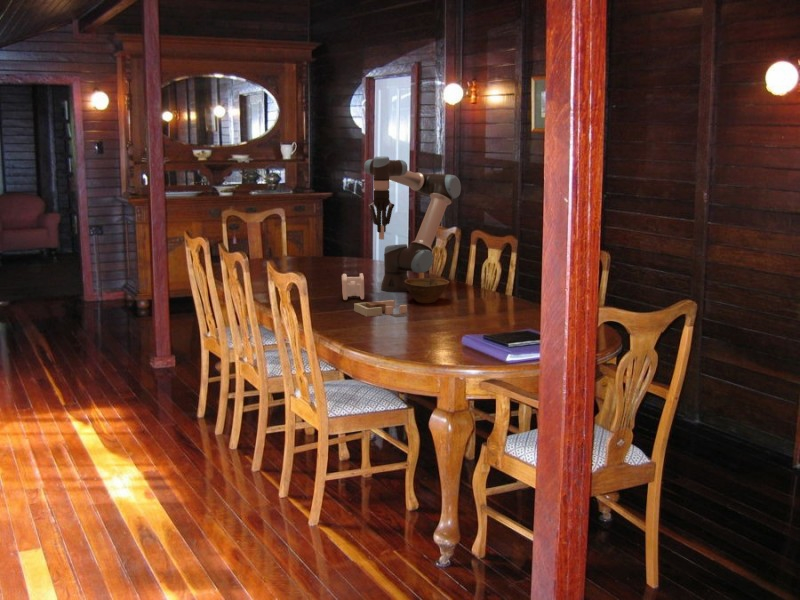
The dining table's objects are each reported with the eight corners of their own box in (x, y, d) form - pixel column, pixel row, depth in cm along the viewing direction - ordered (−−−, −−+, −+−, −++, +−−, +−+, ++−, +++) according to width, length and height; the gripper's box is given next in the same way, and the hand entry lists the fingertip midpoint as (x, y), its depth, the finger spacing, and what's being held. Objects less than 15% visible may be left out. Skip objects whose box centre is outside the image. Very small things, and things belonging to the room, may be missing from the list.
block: (380, 311, 420) (380, 301, 419) (385, 313, 414) (385, 303, 414) (366, 312, 417) (366, 302, 416) (371, 314, 412) (371, 305, 411)
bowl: (456, 299, 447) (457, 279, 446) (438, 307, 427) (438, 286, 425) (415, 295, 456) (415, 275, 455) (395, 303, 436) (395, 283, 434)
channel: (393, 307, 427) (393, 300, 427) (406, 312, 415) (406, 305, 414) (373, 309, 423) (373, 301, 422) (386, 314, 411) (386, 307, 410)
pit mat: (404, 314, 414) (404, 313, 414) (409, 316, 409) (409, 315, 409) (390, 316, 411) (390, 314, 411) (395, 318, 406) (395, 317, 406)
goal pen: (369, 309, 422) (369, 302, 421) (382, 315, 410) (382, 307, 409) (354, 311, 419) (354, 303, 418) (366, 316, 407) (366, 309, 406)
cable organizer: (364, 301, 442) (364, 277, 440) (342, 301, 441) (342, 277, 439) (363, 295, 457) (363, 272, 455) (341, 295, 456) (341, 272, 454)
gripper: (390, 188, 442) (390, 237, 447) (365, 189, 437) (365, 239, 441) (397, 189, 436) (397, 239, 440) (372, 190, 430) (372, 240, 435)
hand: (381, 239), depth 441 cm, fingers closed
